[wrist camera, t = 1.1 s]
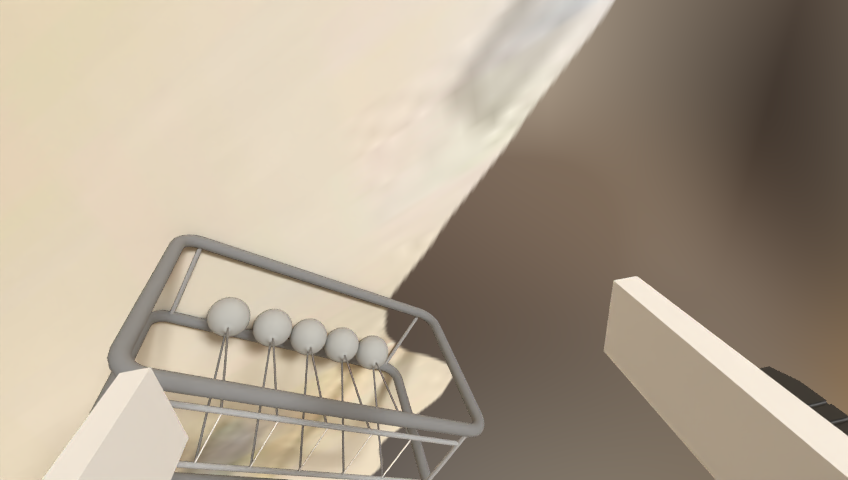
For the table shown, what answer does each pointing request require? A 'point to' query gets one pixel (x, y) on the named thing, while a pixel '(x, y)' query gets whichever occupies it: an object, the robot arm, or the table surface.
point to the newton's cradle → (274, 331)
